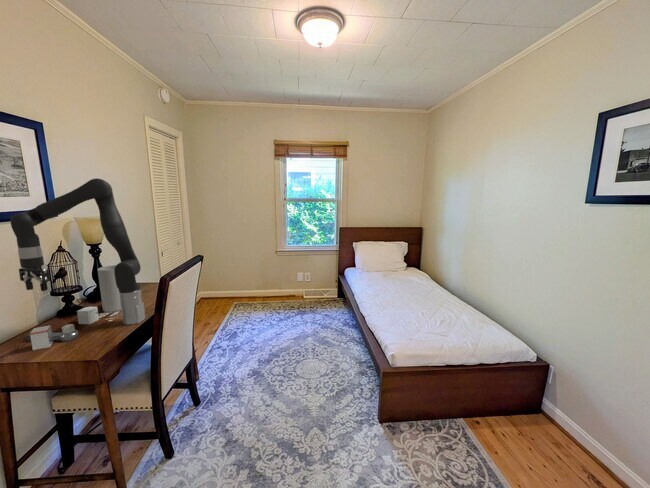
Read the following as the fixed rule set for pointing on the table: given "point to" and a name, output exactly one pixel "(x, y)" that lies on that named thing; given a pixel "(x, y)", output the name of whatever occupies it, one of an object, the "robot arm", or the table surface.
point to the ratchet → (62, 334)
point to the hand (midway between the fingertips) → (37, 290)
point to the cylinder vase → (109, 289)
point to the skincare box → (87, 315)
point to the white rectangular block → (41, 337)
